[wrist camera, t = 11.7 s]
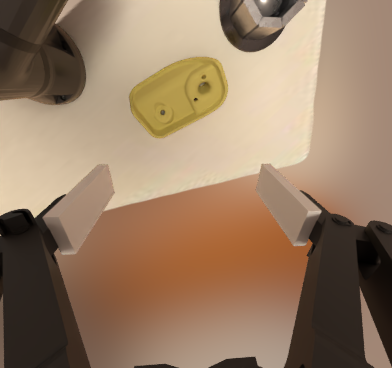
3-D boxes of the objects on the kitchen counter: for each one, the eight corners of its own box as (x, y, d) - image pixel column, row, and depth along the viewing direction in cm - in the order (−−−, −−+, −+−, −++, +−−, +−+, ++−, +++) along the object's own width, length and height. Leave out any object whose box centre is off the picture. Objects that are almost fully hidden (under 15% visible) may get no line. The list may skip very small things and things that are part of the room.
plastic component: (156, 141, 43) (127, 108, 35) (154, 123, 47) (128, 90, 39) (232, 102, 38) (219, 54, 30) (223, 85, 43) (209, 39, 35)
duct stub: (208, 32, 35) (211, 24, 30) (241, -69, 29) (252, -99, 24) (266, 63, 38) (278, 60, 34) (307, -22, 32) (328, -40, 28)
